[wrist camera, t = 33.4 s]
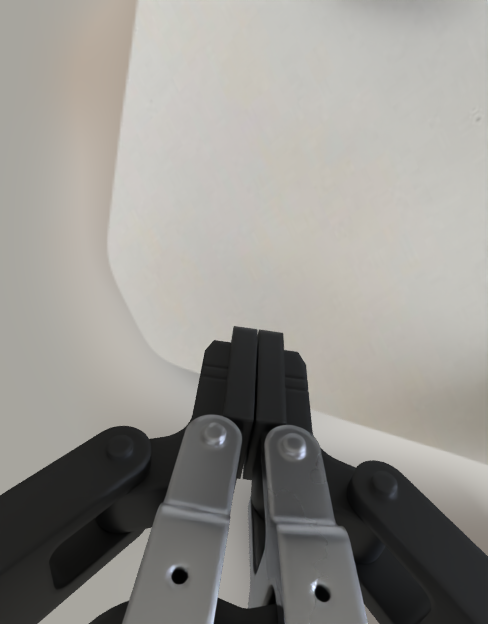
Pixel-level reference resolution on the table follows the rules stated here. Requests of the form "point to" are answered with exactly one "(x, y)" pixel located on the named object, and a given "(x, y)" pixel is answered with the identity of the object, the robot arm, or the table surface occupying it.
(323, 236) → the table surface
